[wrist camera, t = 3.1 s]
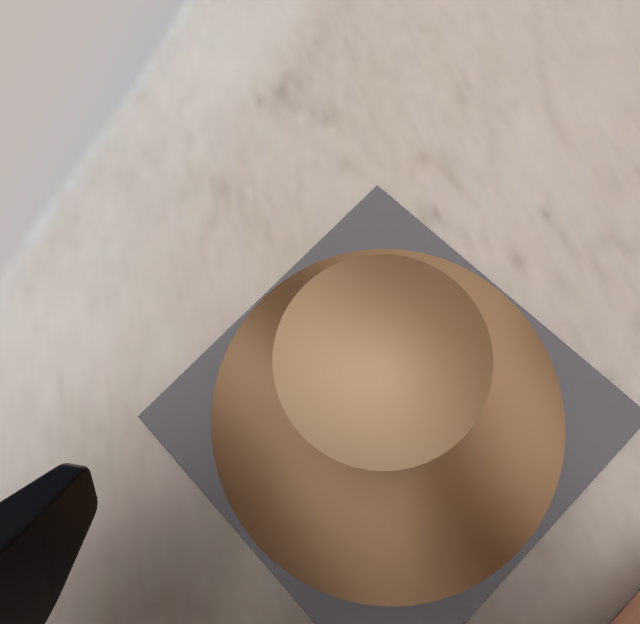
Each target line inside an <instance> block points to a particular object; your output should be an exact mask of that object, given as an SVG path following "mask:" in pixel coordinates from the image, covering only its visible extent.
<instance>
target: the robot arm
mask: <svg viewBox="0 0 640 624" xmlns="http://www.w3.org/2000/svg"><path fill="white" fill-rule="evenodd" d="M96 510H97V496H96V492H95V488H94V484H93V480H92V476H91V472H90V470H89V469H88V468H87V467H86V466H81V465H76V464H70V463H64V464H61V465H59V466H57V467H55V468H54V469H52V470H51V471H49V472H47V473H46V474H44V475H43V476H41V477H39V478H38V479H36V480H35V481H33V482H31V483H30V484H28V485H27V486H25V487H23V488H22V489H20V490H19V491H17V492H15V493H14V494H12V495H11V496H9V497H8V498H6V499H4V500H3V501H1V502H0V624H45V623H46V621H47V619H48V617H49V616H50V614H51V612H52V610H53V608H54V606H55V604H56V602H57V600H58V598H59V596H60V594H61V591H62V589H63V587H64V585H65V582H66V580H67V578H68V575H69V573H70V571H71V569H72V566H73V564H74V562H75V559H76V557H77V555H78V553H79V550H80V548H81V546H82V543H83V541H84V539H85V536H86V534H87V532H88V530H89V527H90V525H91V523H92V520H93V518H94V516H95V513H96Z"/></svg>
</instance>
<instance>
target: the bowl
mask: <svg viewBox="0 0 640 624" xmlns="http://www.w3.org/2000/svg"><path fill="white" fill-rule="evenodd" d="M611 624H640V590H639V591H638V592H637V594H636V595H635V596H634V597H633V598H632V599H631V601H630V602H629V603H628V604H627V605H626V606H625V607H624V609H623V610H622V611H621V612H620V613H619V614H618V616H617V617H616V618H615V619H614V620H613V621H612V623H611Z"/></svg>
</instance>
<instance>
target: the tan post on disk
mask: <svg viewBox="0 0 640 624" xmlns="http://www.w3.org/2000/svg"><path fill="white" fill-rule="evenodd" d="M211 438H212V446H213V453H214V460H215V464H216V468H217V471H218V475H219V479H220V482H221V485H222V487H223V490H224V492H225V495H226V497H227V499H228V502H229V504H230V506H231V508H232V509H233V511H234V513H235V515H236V516H237V518H238V520H239V522H240V523H241V525H242V526H243V528H244V529H245V530H246V532H247V533H248V534H249V536H250V537H251V538H252V540H253V541H254V542H255V544H256V545H257V546H258V547H259V548H260V549H261V550H262V551H263V552H264V553H265V554H266V555H267V556H268V557H269V558H270V559H271V560H272V561H273V562H275V563H276V564H277V565H279V566H280V567H281V568H282V569H284V570H285V571H286V572H288V573H289V574H290V575H291V576H293V577H295V578H296V579H298V580H300V581H302V582H303V583H305V584H307V585H309V586H310V587H312V588H314V589H316V590H319V591H321V592H324V593H326V594H329V595H331V596H333V597H336V598H339V599H343V600H347V601H351V602H355V603H359V604H366V605H375V606H385V607H389V606H412V605H418V604H423V603H429V602H434V601H438V600H441V599H444V598H447V597H450V596H453V595H456V594H459V593H461V592H463V591H465V590H467V589H469V588H471V587H473V586H475V585H477V584H479V583H481V582H482V581H484V580H485V579H487V578H488V577H489V576H491V575H492V574H494V573H495V572H496V571H498V570H499V569H501V568H502V567H503V566H504V565H505V564H506V563H507V562H508V561H509V560H511V559H512V558H513V557H514V556H515V555H516V554H517V553H518V552H519V551H520V550H521V549H522V547H523V546H524V545H525V544H526V542H527V541H528V540H529V538H530V537H531V536H532V535H533V533H534V532H535V531H536V529H537V527H538V526H539V524H540V522H541V520H542V519H543V517H544V515H545V513H546V512H547V510H548V508H549V505H550V503H551V500H552V498H553V495H554V493H555V490H556V488H557V485H558V481H559V477H560V473H561V469H562V464H563V458H564V448H565V439H566V434H565V412H564V406H563V400H562V394H561V389H560V385H559V382H558V379H557V376H556V372H555V369H554V366H553V364H552V362H551V360H550V357H549V355H548V353H547V351H546V349H545V346H544V344H543V343H542V341H541V340H540V338H539V336H538V335H537V333H536V332H535V330H534V328H533V327H532V325H531V324H530V323H529V321H528V320H527V319H526V318H525V317H524V315H523V314H522V313H521V312H520V310H519V309H518V308H517V307H516V306H515V305H514V304H513V303H512V302H511V301H510V300H509V299H508V298H507V297H506V296H505V295H504V294H503V293H502V292H501V291H499V290H498V289H497V288H495V287H494V286H493V285H491V284H490V283H488V282H487V281H486V280H484V279H483V278H482V277H480V276H478V275H476V274H475V273H473V272H471V271H469V270H468V269H466V268H464V267H462V266H460V265H457V264H455V263H452V262H450V261H448V260H445V259H443V258H439V257H436V256H432V255H429V254H425V253H421V252H415V251H408V250H402V249H369V250H359V251H353V252H349V253H344V254H340V255H336V256H333V257H330V258H327V259H324V260H321V261H319V262H316V263H314V264H312V265H310V266H308V267H306V268H304V269H302V270H300V271H298V272H296V273H295V274H293V275H292V276H290V277H289V278H287V279H286V280H284V281H283V282H281V283H280V284H279V285H277V286H276V287H275V288H274V289H273V290H272V291H270V292H269V293H268V294H267V295H266V296H265V297H264V298H263V299H262V300H261V301H260V302H259V303H258V304H257V305H256V306H255V307H254V308H253V310H252V311H251V312H250V313H249V314H248V316H247V317H246V319H245V320H244V321H243V323H242V324H241V326H240V327H239V328H238V330H237V332H236V333H235V335H234V337H233V339H232V341H231V343H230V345H229V346H228V348H227V351H226V353H225V356H224V358H223V361H222V363H221V366H220V369H219V372H218V376H217V380H216V384H215V388H214V393H213V401H212V410H211Z"/></svg>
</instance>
